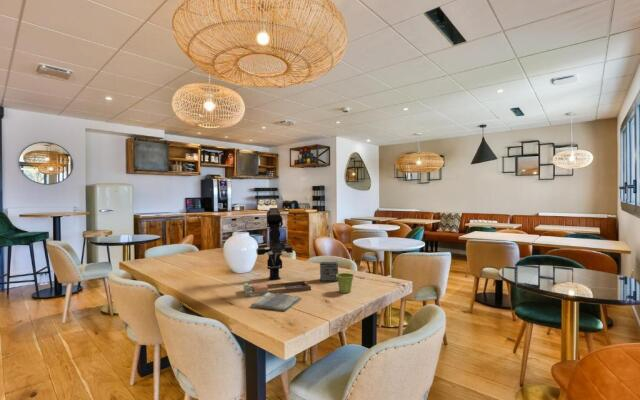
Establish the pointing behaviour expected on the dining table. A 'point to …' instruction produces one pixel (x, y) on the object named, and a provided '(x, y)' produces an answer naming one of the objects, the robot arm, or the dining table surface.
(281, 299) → the dish towel
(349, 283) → the plant pot
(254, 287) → the block
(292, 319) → the dining table surface
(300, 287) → the channel
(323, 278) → the small box
